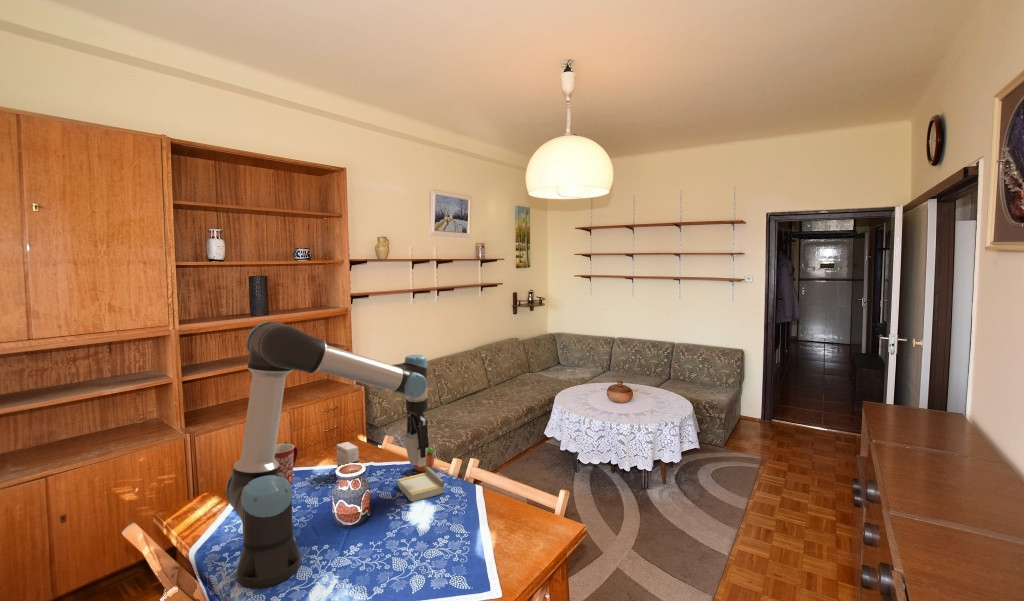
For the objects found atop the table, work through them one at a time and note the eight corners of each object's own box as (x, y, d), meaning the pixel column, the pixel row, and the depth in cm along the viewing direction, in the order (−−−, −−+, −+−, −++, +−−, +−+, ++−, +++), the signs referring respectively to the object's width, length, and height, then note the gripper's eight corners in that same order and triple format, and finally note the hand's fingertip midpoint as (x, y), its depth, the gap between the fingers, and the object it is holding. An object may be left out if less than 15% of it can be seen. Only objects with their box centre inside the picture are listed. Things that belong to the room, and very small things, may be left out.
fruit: (424, 477, 184) (424, 451, 184) (406, 471, 190) (405, 446, 189) (439, 469, 192) (439, 444, 191) (421, 463, 197) (421, 439, 196)
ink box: (359, 476, 185) (359, 446, 184) (347, 480, 181) (347, 450, 180) (348, 470, 191) (347, 440, 190) (336, 474, 187) (335, 444, 186)
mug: (283, 490, 173) (281, 453, 172) (262, 487, 176) (261, 451, 175) (307, 475, 185) (306, 441, 184) (287, 472, 188) (286, 438, 187)
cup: (433, 461, 174) (433, 433, 173) (417, 469, 167) (417, 440, 166) (416, 456, 178) (416, 429, 178) (400, 463, 172) (400, 436, 171)
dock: (444, 493, 171) (443, 480, 171) (411, 502, 165) (411, 489, 165) (428, 478, 183) (428, 466, 183) (397, 486, 177) (397, 474, 176)
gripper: (438, 404, 164) (439, 469, 166) (416, 390, 182) (417, 450, 184) (417, 407, 160) (418, 474, 162) (396, 393, 178) (397, 454, 180)
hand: (417, 461), depth 173 cm, fingers closed on cup, 8 cm apart
